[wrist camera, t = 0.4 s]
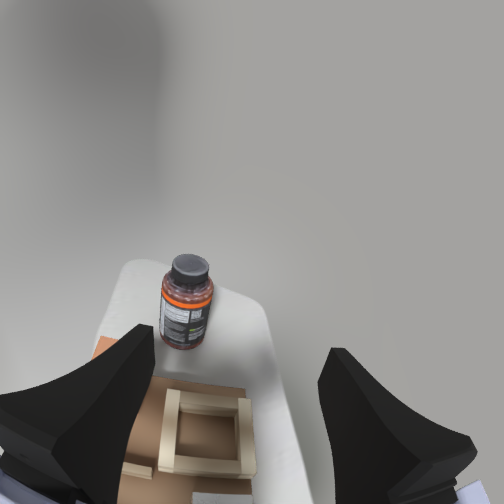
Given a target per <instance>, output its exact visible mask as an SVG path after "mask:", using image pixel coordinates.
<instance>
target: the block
mask: <svg viewBox="0 0 504 504" xmlns="http://www.w3.org/2000/svg"><path fill="white" fill-rule="evenodd" d="M190 504H253V495H233V494H211V493H199V492H192V495H191V497H190Z"/></svg>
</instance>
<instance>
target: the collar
mask: <svg viewBox="0 0 504 504" xmlns="http://www.w3.org/2000/svg"><path fill="white" fill-rule="evenodd" d="M178 411H181V412H188V413H195V414H203V415H212V416H221V417H233V418H234V420H235V448H236V461H235V460H218V459H206V458H196V457H188V456H180V455H175V442H176V430H177V420H178ZM158 471H162V472H168V473H175V474H183V475H191V476H201V477H213V478H230V479H251V478H252V477H254V476H255V475H256V474H257V471H256V459H255V446H254V433H253V419H252V406H251V399H246V398H234V397H224V396H215V395H207V394H200V393H192V392H186V391H179V390H173V389H168V388H167V394H166V401H165V409H164V416H163V424H162V432H161V441H160V450H159V460H158Z"/></svg>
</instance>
